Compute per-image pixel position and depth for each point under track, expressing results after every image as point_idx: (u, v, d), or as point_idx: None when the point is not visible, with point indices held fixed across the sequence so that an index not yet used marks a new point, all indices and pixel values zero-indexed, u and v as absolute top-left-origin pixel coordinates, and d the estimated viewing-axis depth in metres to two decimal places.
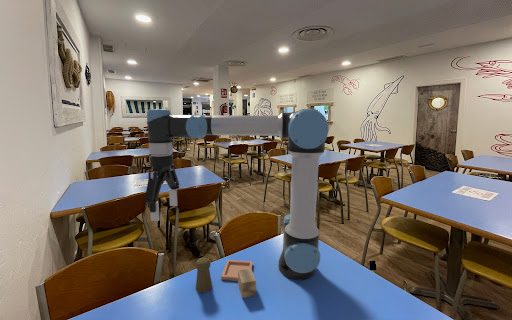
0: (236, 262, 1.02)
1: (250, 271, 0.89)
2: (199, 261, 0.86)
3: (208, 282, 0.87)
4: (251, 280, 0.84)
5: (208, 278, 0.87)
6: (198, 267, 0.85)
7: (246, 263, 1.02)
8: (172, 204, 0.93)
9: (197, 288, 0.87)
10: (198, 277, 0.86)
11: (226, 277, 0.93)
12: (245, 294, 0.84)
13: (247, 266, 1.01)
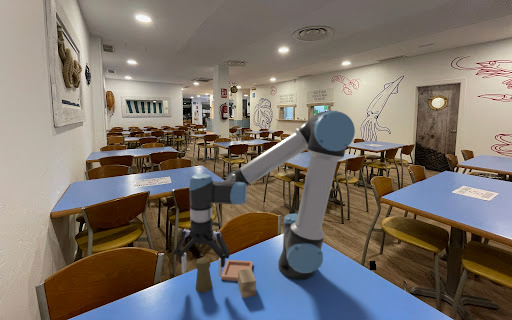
0: (236, 262, 1.02)
1: (250, 271, 0.89)
2: (199, 261, 0.86)
3: (208, 282, 0.87)
4: (251, 280, 0.84)
5: (208, 278, 0.87)
6: (198, 267, 0.85)
7: (246, 263, 1.02)
8: None
9: (197, 288, 0.87)
10: (198, 277, 0.86)
11: (226, 277, 0.93)
12: (245, 294, 0.84)
13: (247, 266, 1.01)
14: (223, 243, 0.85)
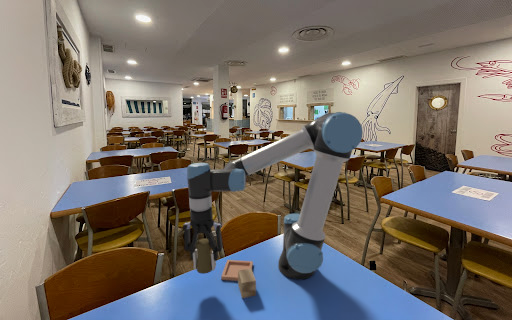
0: (236, 262, 1.02)
1: (250, 271, 0.89)
2: (199, 242, 0.85)
3: (209, 263, 0.86)
4: (251, 280, 0.84)
5: (209, 259, 0.86)
6: (198, 247, 0.84)
7: (246, 263, 1.02)
8: None
9: (198, 269, 0.86)
10: (199, 258, 0.85)
11: (226, 277, 0.93)
12: (245, 294, 0.84)
13: (247, 266, 1.01)
14: (220, 236, 0.85)
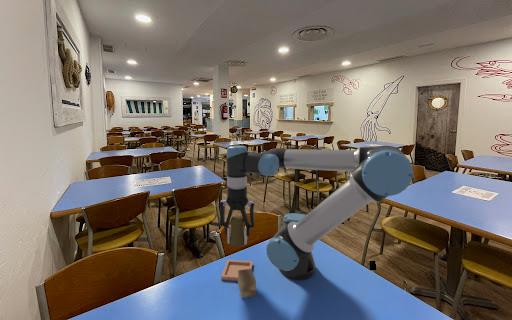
0: (236, 262, 1.02)
1: (250, 271, 0.89)
2: (234, 218, 0.93)
3: (242, 237, 0.94)
4: (251, 280, 0.84)
5: (242, 234, 0.94)
6: (233, 223, 0.92)
7: (246, 263, 1.02)
8: None
9: (232, 243, 0.93)
10: (233, 232, 0.93)
11: (226, 277, 0.93)
12: (245, 294, 0.84)
13: (247, 266, 1.01)
14: (253, 213, 0.93)
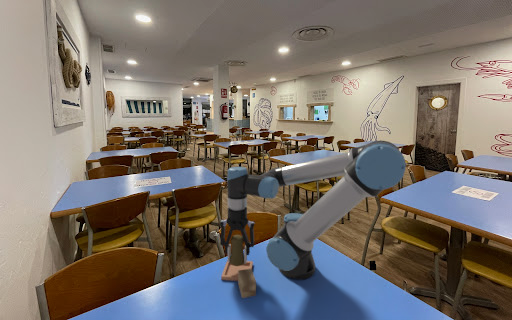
0: None
1: (250, 271, 0.89)
2: (234, 237, 0.95)
3: (242, 257, 0.95)
4: (251, 280, 0.84)
5: (242, 253, 0.95)
6: (233, 242, 0.93)
7: (246, 263, 1.02)
8: None
9: (232, 262, 0.95)
10: (233, 252, 0.95)
11: (226, 277, 0.93)
12: (245, 294, 0.84)
13: (247, 266, 1.01)
14: (253, 233, 0.94)
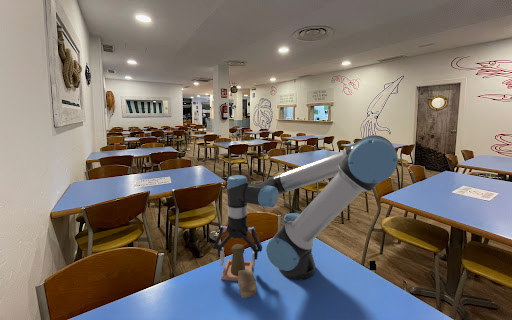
0: None
1: (250, 271, 0.89)
2: (234, 247, 0.95)
3: (242, 266, 0.96)
4: (251, 280, 0.84)
5: (243, 262, 0.96)
6: (234, 252, 0.94)
7: (246, 263, 1.02)
8: None
9: (232, 271, 0.96)
10: (233, 261, 0.95)
11: (226, 277, 0.93)
12: (245, 294, 0.84)
13: (247, 266, 1.01)
14: (257, 237, 0.94)
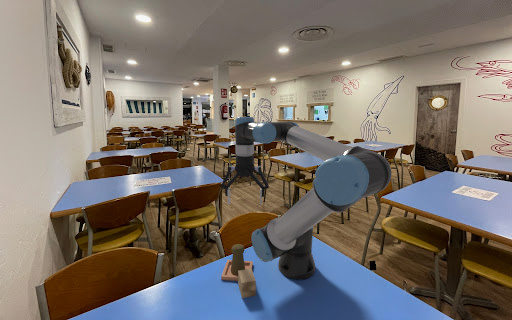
0: None
1: (250, 271, 0.89)
2: (234, 247, 0.95)
3: (242, 266, 0.96)
4: (251, 280, 0.84)
5: (243, 262, 0.96)
6: (234, 252, 0.94)
7: (246, 263, 1.02)
8: None
9: (232, 271, 0.96)
10: (233, 261, 0.95)
11: (226, 277, 0.93)
12: (245, 294, 0.84)
13: (247, 266, 1.01)
14: (263, 175, 1.00)
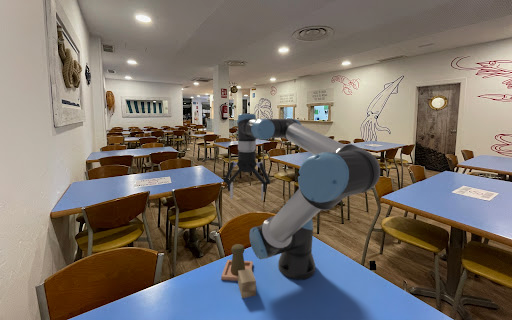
0: None
1: (250, 271, 0.89)
2: (234, 247, 0.95)
3: (242, 266, 0.96)
4: (251, 280, 0.84)
5: (243, 262, 0.96)
6: (234, 252, 0.94)
7: (246, 263, 1.02)
8: None
9: (232, 271, 0.96)
10: (233, 261, 0.95)
11: (226, 277, 0.93)
12: (245, 294, 0.84)
13: (247, 266, 1.01)
14: (265, 171, 1.03)
